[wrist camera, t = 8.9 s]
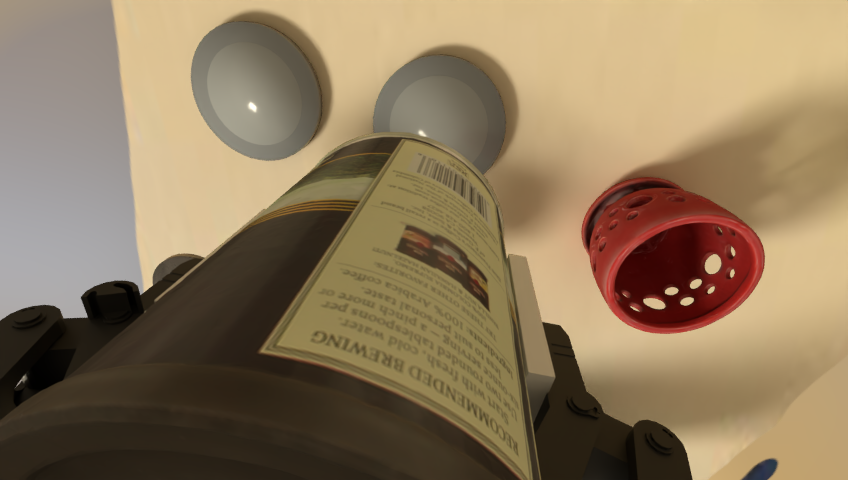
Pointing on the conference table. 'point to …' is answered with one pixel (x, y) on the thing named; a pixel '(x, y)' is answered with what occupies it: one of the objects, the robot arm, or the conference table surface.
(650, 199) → the plant pot
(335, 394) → the coffee can
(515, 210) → the conference table surface
